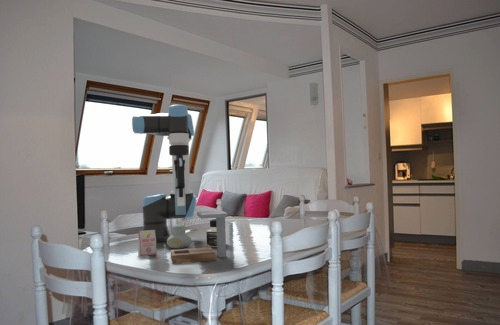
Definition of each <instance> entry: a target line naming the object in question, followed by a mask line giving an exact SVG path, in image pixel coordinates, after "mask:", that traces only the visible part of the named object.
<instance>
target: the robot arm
mask: <svg viewBox="0 0 500 325" xmlns="http://www.w3.org/2000/svg"><path fill="white" fill-rule="evenodd" d="M167 109H168V112H166V113H165V112H160V113H153V114H137V115H133V116H132V118H131V119H132V120H131V127H132V132H133V134H140V135H142V134H148V135H154V136H159V137H167V138H166V139H168V143H169V147H168V149H169V150H168V151H169V152H168V153H169V155H170V156H171V159H172V160H171V163H172V164H171V166H172V190H171V191H170V192H169V194H170V195H168V196H167V194H166V193H158V194H155V195H154V194H153V195H148V196H145V197H144V198H143V199H142V217H143V218H142V220H143V222H142V225H143V227H142V229H141V231H147V230H155V236H156V243H162V242H163V243H164V242H167V239H168V238H169V237H170V236H171V233H170V232H171V231H170V229H169V228H168V227H169V226H168V224H167V223H168V222H167V221H168V220H175V219H176V220H177V219H188V218H190V219H191V218H192V217H194V216H195V210H196V204H197V202H196V199H197V196H196V195H195V194H194V192H193V190H192V189H191V184H190V183H191V182H190V179H191V178H190V176H191V175H190V145H189V143H190V142H191V140H192V137H193V136H195V131H194V122H193V118H192V115H191V114H190V113H189V112H188V111H189V110H188V106H186V105H185V104H172V105H170V106H168V108H167ZM175 178H177V187H175ZM184 178H185V183H184ZM184 187H185V195H186V214H185V215H176V214H175V188H176V189H177V206H185V195H184V189H183V188H184Z"/></svg>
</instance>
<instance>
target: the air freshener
mask: <svg viewBox="0 0 500 325" xmlns="http://www.w3.org/2000/svg"><path fill="white" fill-rule="evenodd" d="M171 231H172V232H171V234H170V237H169V238H168V239H167V241H166V245H167V246H168V247H170V248H172V249H173V250H178V249H181V248H182V249H186V248H188V247H189V246H190V245H191V243H192V238H191V236H189V235H188V234H187V232H186V225H185V224H174V225H172V227H171Z"/></svg>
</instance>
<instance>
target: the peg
mask: <svg viewBox="0 0 500 325" xmlns="http://www.w3.org/2000/svg"><path fill="white" fill-rule="evenodd" d="M184 183H185V178H184ZM175 187H177V178H175ZM183 189H184V195H185V187H184V188H183ZM175 214H176V215H185V214H186V195H185V206H177V189H176V188H175Z"/></svg>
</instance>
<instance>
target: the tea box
mask: <svg viewBox="0 0 500 325" xmlns="http://www.w3.org/2000/svg"><path fill="white" fill-rule="evenodd" d="M137 234H138V236H137V250H138V252H137V255H138V256H139V257H143V256H151V255H152V256H153V255H154V256H155V255H157V242H156V236H155V230H147V231H142V230H138V232H137Z"/></svg>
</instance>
